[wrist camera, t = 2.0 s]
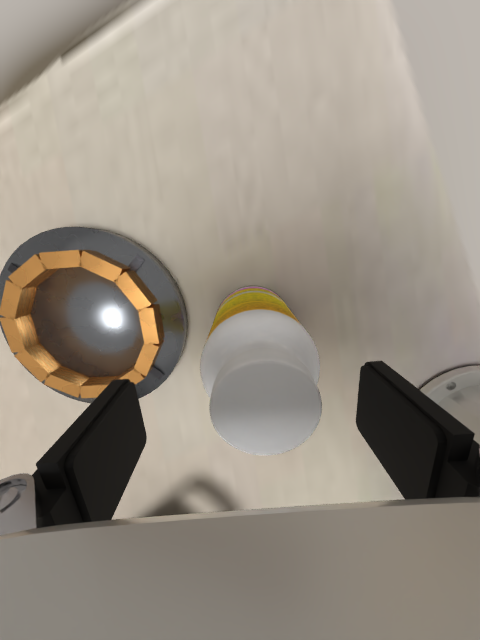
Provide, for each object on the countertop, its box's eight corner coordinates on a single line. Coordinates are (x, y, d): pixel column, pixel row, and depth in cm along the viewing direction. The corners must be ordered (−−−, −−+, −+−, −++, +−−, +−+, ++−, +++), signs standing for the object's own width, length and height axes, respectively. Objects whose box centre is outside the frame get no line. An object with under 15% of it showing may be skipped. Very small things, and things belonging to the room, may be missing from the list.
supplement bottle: (203, 304, 22) (153, 377, 9) (270, 272, 21) (310, 304, 9) (236, 364, 23) (230, 493, 11) (299, 336, 23) (369, 441, 10)
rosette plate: (173, 221, 20) (162, 216, 17) (196, 391, 24) (190, 410, 21) (-14, 235, 20) (-57, 233, 17) (42, 399, 25) (16, 419, 22)
